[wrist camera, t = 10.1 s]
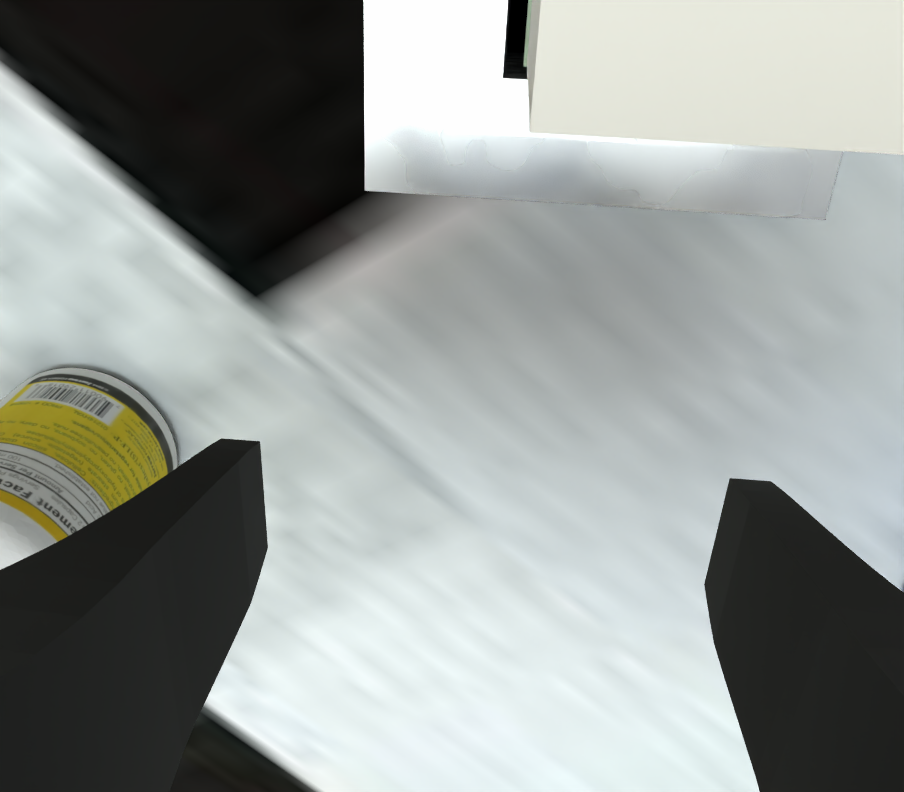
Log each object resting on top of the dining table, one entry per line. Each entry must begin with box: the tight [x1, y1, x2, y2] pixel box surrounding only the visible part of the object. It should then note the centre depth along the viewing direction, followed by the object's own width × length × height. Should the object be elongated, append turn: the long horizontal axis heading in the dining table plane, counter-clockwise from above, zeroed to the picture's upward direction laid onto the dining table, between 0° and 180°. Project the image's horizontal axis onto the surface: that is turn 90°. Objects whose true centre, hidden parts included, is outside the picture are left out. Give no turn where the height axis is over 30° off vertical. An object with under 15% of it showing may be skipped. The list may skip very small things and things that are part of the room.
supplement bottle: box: [0, 368, 177, 570], centre depth 21 cm, size 5×5×10 cm
